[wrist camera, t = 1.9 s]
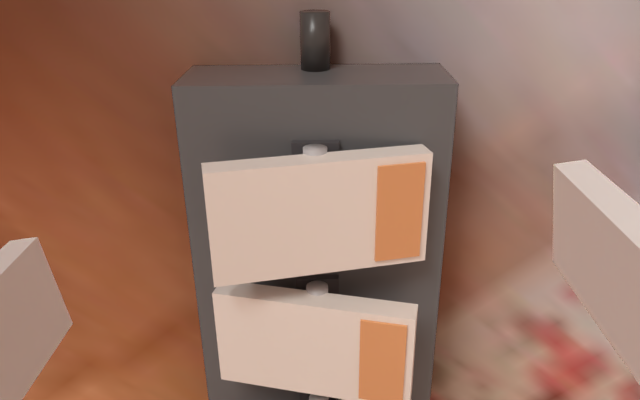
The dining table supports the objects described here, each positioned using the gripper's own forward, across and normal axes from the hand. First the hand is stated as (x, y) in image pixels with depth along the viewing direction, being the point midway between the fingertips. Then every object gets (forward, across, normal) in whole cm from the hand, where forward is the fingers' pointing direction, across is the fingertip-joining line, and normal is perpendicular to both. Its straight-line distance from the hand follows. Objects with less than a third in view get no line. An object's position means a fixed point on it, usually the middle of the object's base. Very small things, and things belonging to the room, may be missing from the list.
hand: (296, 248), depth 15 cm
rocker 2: (+14, -2, -13) cm, 19 cm away
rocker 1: (+14, -1, -5) cm, 15 cm away
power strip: (+20, -2, -12) cm, 23 cm away
